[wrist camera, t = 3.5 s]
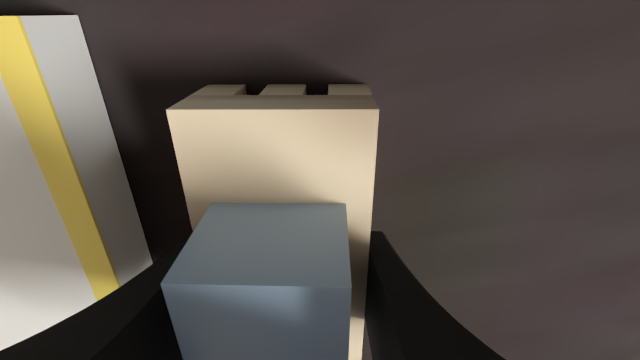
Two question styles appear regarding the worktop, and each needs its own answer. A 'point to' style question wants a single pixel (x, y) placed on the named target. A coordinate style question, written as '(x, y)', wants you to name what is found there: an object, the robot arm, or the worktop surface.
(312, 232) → the block
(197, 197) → the pallet
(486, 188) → the worktop surface
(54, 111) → the dock
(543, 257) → the worktop surface
